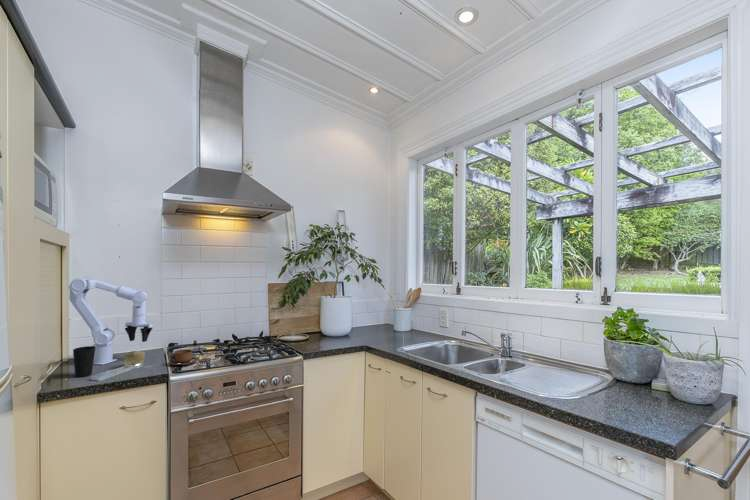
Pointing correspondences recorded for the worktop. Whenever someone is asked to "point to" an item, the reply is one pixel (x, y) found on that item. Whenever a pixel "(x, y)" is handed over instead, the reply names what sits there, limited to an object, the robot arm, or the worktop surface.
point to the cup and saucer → (182, 357)
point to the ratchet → (115, 372)
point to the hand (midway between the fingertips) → (138, 341)
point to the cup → (83, 361)
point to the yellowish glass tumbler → (134, 357)
